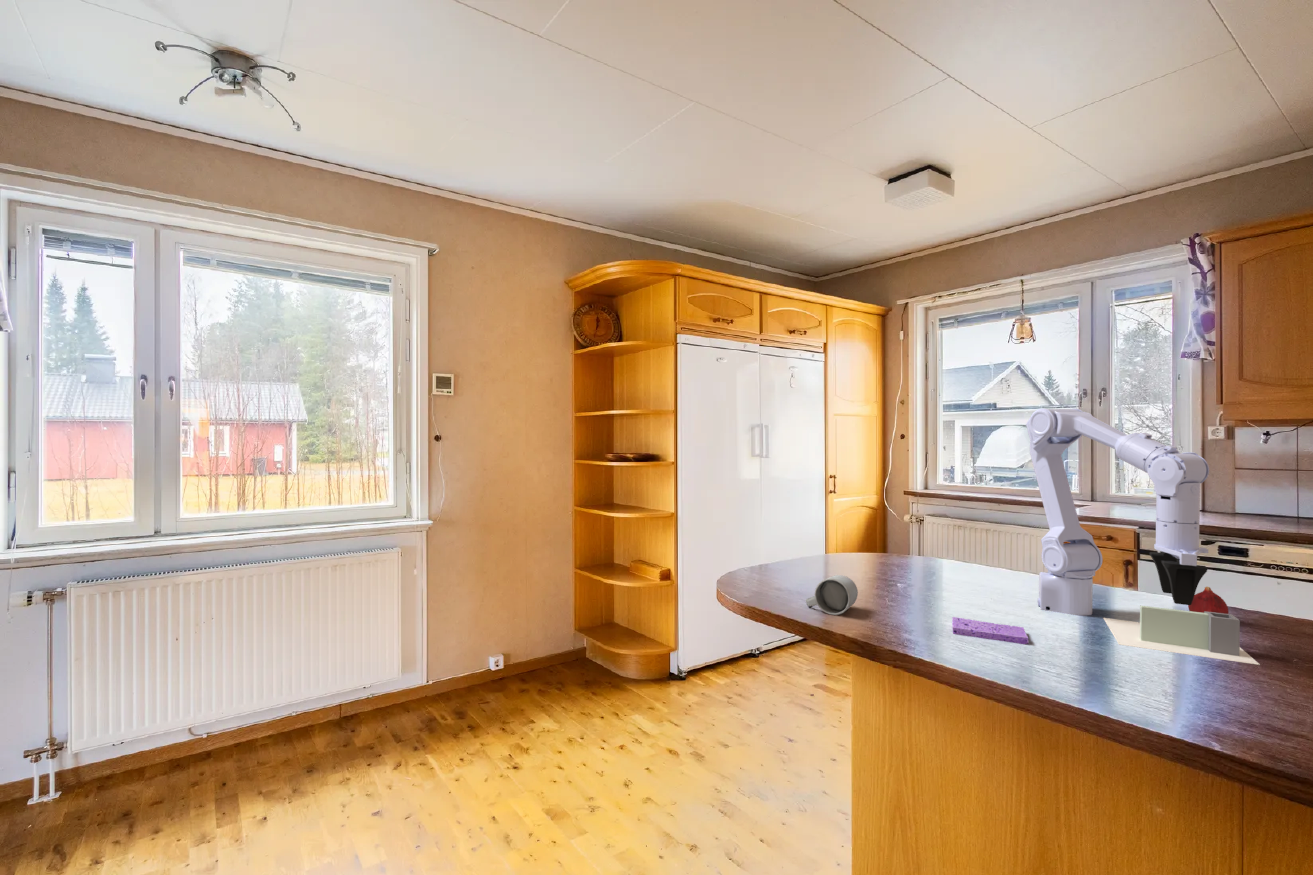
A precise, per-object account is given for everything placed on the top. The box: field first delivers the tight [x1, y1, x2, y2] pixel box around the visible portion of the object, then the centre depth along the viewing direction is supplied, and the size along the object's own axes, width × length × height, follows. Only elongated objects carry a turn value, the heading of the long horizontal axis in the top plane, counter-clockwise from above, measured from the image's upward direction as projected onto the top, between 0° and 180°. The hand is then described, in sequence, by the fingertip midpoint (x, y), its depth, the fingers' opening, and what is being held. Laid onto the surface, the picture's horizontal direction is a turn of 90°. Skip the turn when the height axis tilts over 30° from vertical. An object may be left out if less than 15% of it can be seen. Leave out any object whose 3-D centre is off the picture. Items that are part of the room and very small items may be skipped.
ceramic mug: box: [805, 574, 859, 616], centre depth 128 cm, size 11×8×8 cm
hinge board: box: [1102, 617, 1261, 666], centre depth 106 cm, size 18×17×5 cm
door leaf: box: [1139, 605, 1241, 656], centre depth 102 cm, size 13×4×6 cm, turn 60°
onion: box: [1187, 586, 1230, 614], centre depth 117 cm, size 6×6×8 cm
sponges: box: [951, 616, 1029, 645], centre depth 113 cm, size 7×13×2 cm, turn 63°
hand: (1176, 598), depth 103 cm, fingers open, 7 cm apart
